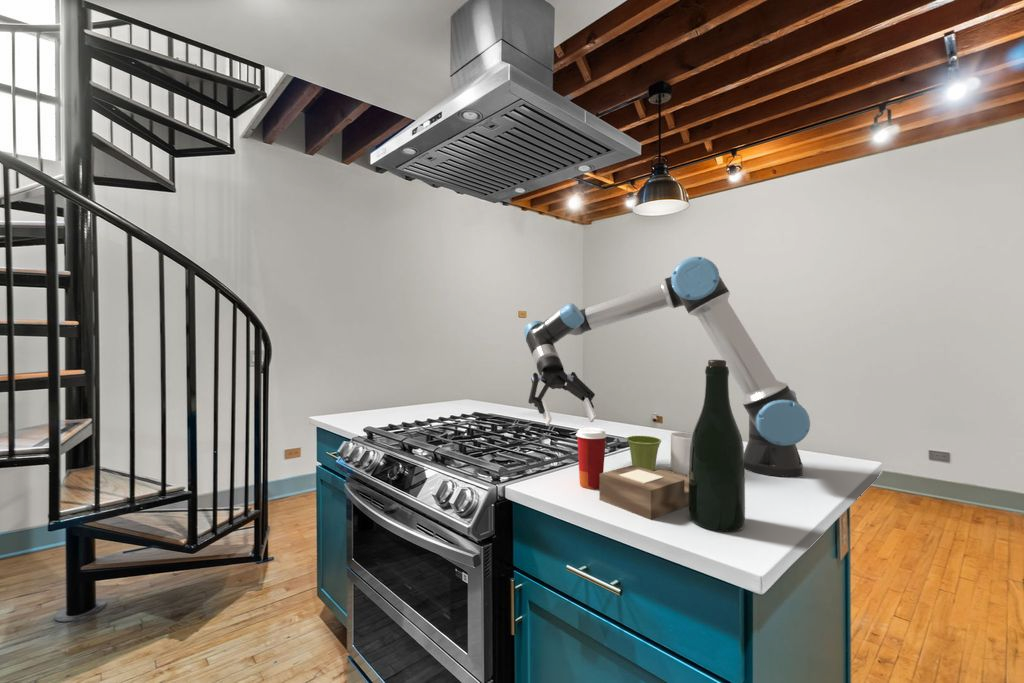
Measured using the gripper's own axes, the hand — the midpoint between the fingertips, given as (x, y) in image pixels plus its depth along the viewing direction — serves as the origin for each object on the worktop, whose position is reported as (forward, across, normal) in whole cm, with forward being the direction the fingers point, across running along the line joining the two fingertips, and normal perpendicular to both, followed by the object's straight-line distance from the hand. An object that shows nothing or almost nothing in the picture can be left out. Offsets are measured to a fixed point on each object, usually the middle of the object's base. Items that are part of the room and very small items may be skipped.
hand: (571, 421), depth 121 cm
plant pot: (+12, -22, -9) cm, 27 cm away
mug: (+18, -31, -3) cm, 36 cm away
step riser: (+26, -10, +5) cm, 29 cm away
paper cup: (+17, 0, -4) cm, 18 cm away
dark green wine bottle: (+37, -12, +16) cm, 43 cm away
